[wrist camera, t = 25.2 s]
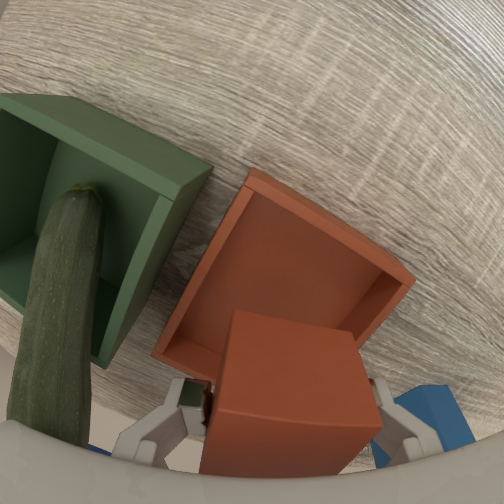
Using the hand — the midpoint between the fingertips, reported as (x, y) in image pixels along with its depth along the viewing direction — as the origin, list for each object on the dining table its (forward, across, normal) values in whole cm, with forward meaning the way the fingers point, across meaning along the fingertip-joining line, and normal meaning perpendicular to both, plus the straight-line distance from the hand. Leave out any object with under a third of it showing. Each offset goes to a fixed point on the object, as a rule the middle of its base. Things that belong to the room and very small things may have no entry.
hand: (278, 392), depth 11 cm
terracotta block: (+2, 0, 0) cm, 2 cm away
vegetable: (+6, +10, -8) cm, 14 cm away
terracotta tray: (+8, 0, 0) cm, 8 cm away
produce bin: (+8, +10, -6) cm, 14 cm away
